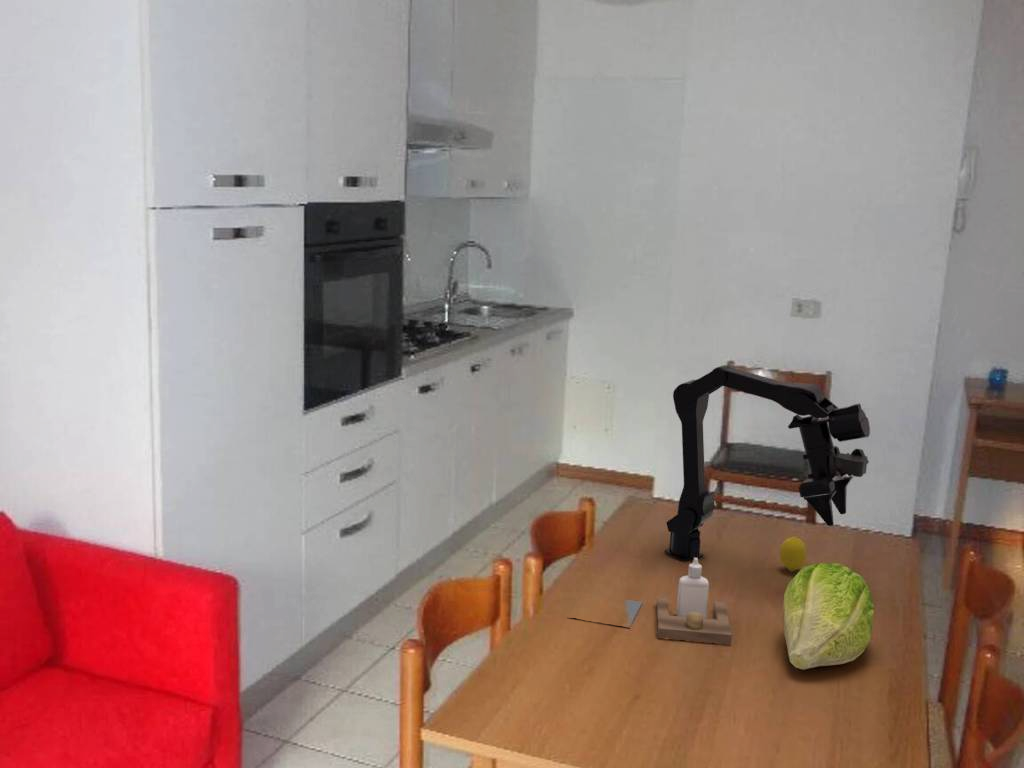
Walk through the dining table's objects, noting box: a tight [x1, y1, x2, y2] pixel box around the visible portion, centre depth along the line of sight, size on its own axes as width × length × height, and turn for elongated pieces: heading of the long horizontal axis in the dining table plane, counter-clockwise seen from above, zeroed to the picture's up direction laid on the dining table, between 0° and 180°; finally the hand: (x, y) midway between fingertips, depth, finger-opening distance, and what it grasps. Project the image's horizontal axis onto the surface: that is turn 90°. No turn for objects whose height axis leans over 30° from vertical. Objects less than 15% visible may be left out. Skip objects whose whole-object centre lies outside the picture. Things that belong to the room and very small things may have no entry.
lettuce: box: [782, 562, 875, 670], centre depth 176 cm, size 15×25×16 cm
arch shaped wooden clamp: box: [656, 595, 733, 646], centre depth 186 cm, size 15×13×4 cm
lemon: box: [779, 535, 807, 572], centre depth 214 cm, size 6×6×8 cm
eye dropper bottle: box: [676, 558, 710, 619], centre depth 188 cm, size 4×6×12 cm
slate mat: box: [623, 599, 643, 627], centre depth 191 cm, size 12×12×1 cm
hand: (837, 519), depth 202 cm, fingers open, 9 cm apart
